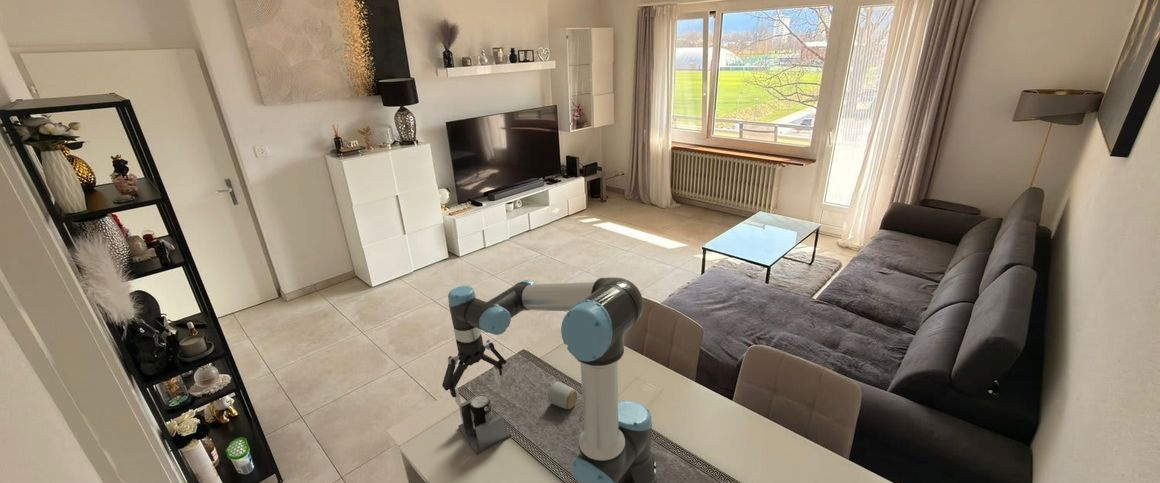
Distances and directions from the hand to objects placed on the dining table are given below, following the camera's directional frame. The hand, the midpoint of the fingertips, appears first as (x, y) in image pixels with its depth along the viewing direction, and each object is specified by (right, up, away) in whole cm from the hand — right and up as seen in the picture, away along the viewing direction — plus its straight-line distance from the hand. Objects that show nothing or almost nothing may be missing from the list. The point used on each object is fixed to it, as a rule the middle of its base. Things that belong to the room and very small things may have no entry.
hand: (478, 393), depth 149 cm
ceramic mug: (+26, -9, +18) cm, 33 cm away
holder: (0, -15, +7) cm, 16 cm away
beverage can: (0, -14, +6) cm, 15 cm away
